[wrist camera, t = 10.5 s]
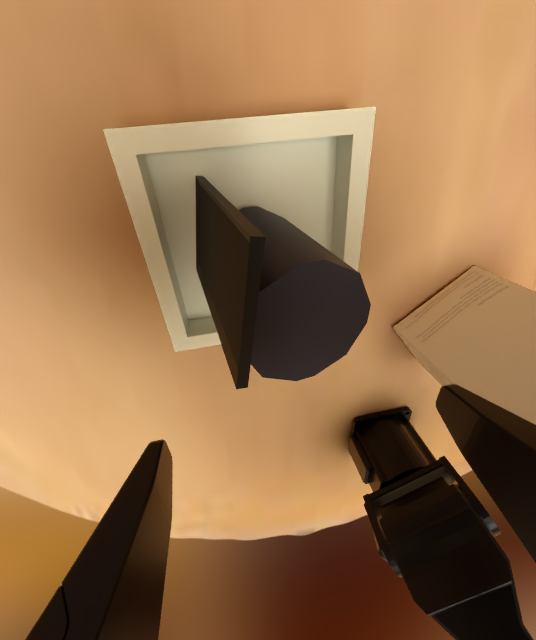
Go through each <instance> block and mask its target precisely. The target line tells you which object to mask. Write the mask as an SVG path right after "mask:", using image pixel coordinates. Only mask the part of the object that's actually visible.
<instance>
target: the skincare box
mask: <svg viewBox="0 0 536 640" xmlns="http://www.w3.org/2000/svg"><path fill="white" fill-rule="evenodd" d="M393 328H394V330H395V332H396V333H397V334H398V336H399V337H400V338H401V340H402V341H403V342H404V344H405V345H406V346H407V347H408V349H409V350H410V351H411V353H412V354H413V355H414V357H415V358H416V359H417V360H418V362H419V363H420V364H421V365H422V366H423V367H424V368H425V369H426V370H427V371H428V372H429V373H430V374H431V375H432V376H433V377H434V378H435V379H436V380H437V381H438V382H439V383H440V384H441V385H442V386H444V385H449V384H457V385H459V386H461V387H463V388H465V389H467V390H469V391H471V392H473V393H475V394H477V395H479V396H481V397H483V398H484V399H486V400H488V401H490V402H492V403H494V404H496V405H498V406H500V407H502V408H504V409H506V410H508V411H510V412H512V413H514V414H516V415H518V416H520V417H522V418H524V419H526V420H527V421H529V422H531V423H533V424H535V425H536V292H534V291H532V290H530V289H527V288H525V287H523V286H521V285H518V284H516V283H514V282H511V281H509V280H507V279H505V278H502V277H500V276H498V275H495V274H493V273H491V272H489V271H486V270H484V269H482V268H480V267H477V266H473V267H472V268H470V269H469V270H468V271H466V272H465V273H464V274H462V275H461V276H460V277H459V278H457V279H456V280H455V281H453V282H452V283H451V284H449V285H448V286H447V287H445V288H444V289H443V290H441V291H440V292H439V293H437V294H436V295H435V296H434V297H432V298H431V299H430V300H428V301H427V302H426V303H424V304H423V305H422V306H420V307H419V308H418V309H416V310H415V311H414V312H412V313H411V314H410V315H409V316H407V317H406V318H405V319H403V320H402V321H401V322H399V323H398V324H396V325H395V326H394V327H393Z"/></svg>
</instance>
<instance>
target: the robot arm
mask: <svg viewBox="0 0 536 640" xmlns="http://www.w3.org/2000/svg"><path fill="white" fill-rule="evenodd" d="M436 407H437V410H438V412H439V414H440V415H441V417H442V419H443V421H444V423H445V425H446V426H447V428H448V430H449V432H450V434H451V435H452V437H453V439H454V441H455V443H456V445H457V446H458V448H459V450H460V451H461V453H462V455H463V456H464V458H465V459H466V461H467V462H468V464H469V465H470V467H471V468H472V470H473V471H474V473H475V474H476V475H477V477H478V478H479V480H480V481H481V483H482V484H483V486H484V487H485V489H486V490H487V492H488V493H489V495H490V496H491V498H492V499H493V501H494V502H495V503H496V505H497V506H498V508H499V509H500V511H501V512H502V514H503V515H504V517H505V518H506V520H507V521H508V523H509V524H510V526H511V527H512V528H513V530H514V532H515V533H516V535H517V536H518V537H519V539H520V540H521V542H522V543H523V545H524V546H525V547H526V549H527V551H528V552H529V554H530V555H531V556H532V558H533V560H534V561H535V563H536V425H535V424H533V423H531V422H529V421H527V420H526V419H524V418H522V417H520V416H518V415H516V414H514V413H512V412H510V411H508V410H506V409H504V408H502V407H500V406H498V405H496V404H494V403H492V402H490V401H488V400H486V399H484V398H483V397H481V396H479V395H477V394H475V393H473V392H471V391H469V390H467V389H465V388H463V387H461V386H459V385H457V384H449V385H444V386H442V387H441V389H440V392H439V395H438V397H437V400H436ZM411 413H412V411H411V410H410V408H409V407H405V408H401V409H396V410H391V411H386V412H381V413H377V414H372V415H367V416H362V417H358V418H355V419H354V420H353V426H352V433H351V435H350V440H349V447H348V449H349V453H350V455H351V456H352V458H353V461H354V463H355V465H356V467H357V469H358V472H359V474H360V476H361V478H362V480H363V482H364V483H365V484H368V483H369V484H370V486H371V488H372V490H373V493H371V494H366V495H364V496H363V498H364V501H365V504H364V507H365V509H366V512H367V514H368V516H369V519H370V522H371V525H372V528H373V532H374V537H375V541H376V545H377V549H378V553H379V555H380V557H381V558H382V559H384V560H386V561H387V562H388V563H389V565H390V566H391V568H392V569H393V571H394V572H395V573H396V575H397V576H398V577H403V579H404V580H405V583H406V585H407V587H408V589H409V591H410V593H411V595H412V597H413V599H414V601H415V602H416V603H417V604H418V605H419V607H420V608H422V610H423V611H424V612H425V613H426V614H427V615H429V616H431V617H432V618H433V619H435V620H436V621H437V622H438V623H439V624H440V625H441V626H442V627H443V628H444V629H445V630H446V631H447V632H448V633H449V634H450V635H451V636H452V637H454V639H456V640H534V639H533V638H532V636H531V635H530V633H529V631H528V630H527V628H526V627H525V625H524V623H523V621H522V616H521V612H520V607H519V602H518V597H517V592H516V588H515V583H514V578H513V574H512V569H511V565H510V561H509V559H508V557H507V556H506V554H505V553H504V551H503V550H502V549H501V547H500V546H499V544H498V543H497V542H496V540H495V539H494V536H496V535H499V534H501V532H500V531H499V529H498V527H497V526H496V525H495V523H494V521H493V520H492V518H491V517H490V515H489V514H488V512H487V511H486V510H485V508H484V507H483V505H482V504H481V503H480V501H479V500H478V499H477V497H476V496H475V495H474V493H473V492H472V491H471V490H470V488H469V487H468V486H467V484H466V483H465V482H464V481H463V479H462V478H461V477H460V475H459V474H458V473H457V472H456V470H455V469H454V468H453V466H452V465H451V464H450V463H449V461H448V460H447V459H446V457H445V456H443V457H441V458H439V460H436V459H435V457H434V456H433V454H432V453H431V452H430V450H429V449H428V447H427V446H426V445H425V443H424V442H423V440H422V439H421V437H420V436H419V435H418V433H417V432H416V430H415V429H414V427H413V426H412V425H411V423H410V422H409V419H410V416H411ZM453 482H454V484H455V485H454V484H452V485H450V486H449V484H451V483H453ZM171 521H172V456H171V453H170V451H169V448H168V446H167V443H166V441H165V440H157V441H152V442H150V443H149V444H148V446H147V447H146V449H145V451H144V452H143V454H142V455H141V457H140V459H139V460H138V462H137V463H136V465H135V467H134V468H133V470H132V471H131V473H130V475H129V476H128V478H127V479H126V481H125V482H124V484H123V486H122V487H121V489H120V490H119V492H118V494H117V495H116V497H115V498H114V500H113V502H112V503H111V505H110V506H109V508H108V510H107V511H106V513H105V514H104V516H103V518H102V519H101V521H100V522H99V524H98V526H97V527H96V529H95V530H94V532H93V534H92V535H91V537H90V538H89V540H88V542H87V543H86V545H85V546H84V548H83V550H82V551H81V553H80V554H79V556H78V557H77V559H76V561H75V562H74V564H73V565H72V567H71V569H70V570H69V572H68V574H67V575H66V577H65V578H64V580H63V581H62V586H59V588H58V589H57V591H56V592H55V594H54V596H53V597H52V599H51V600H50V602H49V603H48V605H47V607H46V608H45V610H44V611H43V613H42V614H41V616H40V618H39V619H38V621H37V622H36V624H35V625H34V627H33V628H32V630H31V631H30V633H29V635H28V636H27V638H26V639H25V640H158V636H159V627H160V619H161V609H162V601H163V592H164V583H165V575H166V566H167V557H168V548H169V539H170V531H171Z"/></svg>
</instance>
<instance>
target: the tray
mask: <svg viewBox="0 0 536 640" xmlns="http://www.w3.org/2000/svg"><path fill="white" fill-rule="evenodd" d="M375 112H376V107H364V108H352V109H340V110H328V111H316V112H304V113H292V114H280V115H268V116H256V117H244V118H232V119H220V120H208V121H196V122H184V123H172V124H160V125H148V126H136V127H124V128H112V129H103V132H104V135H105V138H106V141H107V144H108V147H109V150H110V153H111V156H112V159H113V162H114V166H115V169H116V172H117V175H118V178H119V181H120V184H121V187H122V190H123V193H124V196H125V199H126V203H127V206H128V209H129V212H130V215H131V218H132V221H133V224H134V227H135V230H136V233H137V236H138V240H139V243H140V246H141V249H142V252H143V255H144V258H145V261H146V264H147V267H148V270H149V273H150V277H151V280H152V283H153V286H154V289H155V292H156V295H157V298H158V301H159V304H160V307H161V310H162V314H163V317H164V320H165V323H166V326H167V329H168V332H169V335H170V338H171V341H172V344H173V348H174V351H175V352H180V351H185V350H191V349H197V348H203V347H209V346H215V345H221V342H220V339H219V336H218V333H217V330H216V327H215V324H214V321H213V318H212V315H211V312H210V309H209V306H208V303H207V300H206V297H205V294H204V291H203V288H202V285H201V282H200V279H199V277H198V274H197V271H196V176H204V177H205V178H206V179H207V180H208V181H209V182H210V183H211V184H212V185H213V186H214V187H215V188H216V189H217V190H218V191H219V192H220V193H221V194H222V195H223V196H224V197H225V198H226V199H227V200H228V201H229V202H230V203H231V204H232V205H234V206H235V207H236V208H237V209H238V210H240V209H241V208H246V207H255V206H258V207H261V208H263V209H265V210H267V211H270V212H272V213H274V214H277V215H279V216H281V217H283V218H285V219H286V220H288V221H289V222H290V223H292V224H293V225H294V226H296V227H297V228H299V229H300V230H301V231H303V232H304V233H305V234H307V235H308V236H310V237H311V238H312V239H314V240H315V241H316V242H318V243H319V244H321V245H322V246H323V247H325V248H326V249H327V250H329V251H330V252H331V253H333V254H334V255H336V256H337V257H338V258H340V259H341V260H342V261H344V262H345V263H347V264H348V265H349V266H351V267H352V268H353V269H355V270H356V271H358V268H359V258H360V249H361V240H362V231H363V222H364V213H365V203H366V194H367V185H368V176H369V167H370V158H371V148H372V139H373V130H374V121H375Z"/></svg>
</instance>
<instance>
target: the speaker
mask: <svg viewBox="0 0 536 640" xmlns="http://www.w3.org/2000/svg"><path fill="white" fill-rule="evenodd" d="M196 271H197V274H198V277H199V279H200V282H201V285H202V288H203V291H204V294H205V297H206V300H207V303H208V306H209V309H210V312H211V315H212V318H213V321H214V324H215V327H216V330H217V333H218V336H219V339H220V342H221V345H222V348H223V351H224V354H225V357H226V360H227V363H228V365H229V368H230V371H231V374H232V377H233V380H234V383H235V386H236V389H241V388H247V387H248V381H249V372H250V364H251V365H252V366H253V367H254V368H255V369H256V370H257V371H258V373H259V374H260V375H261V376H262V377H265V378H274V379H283V380H292V381H298V380H301V379H305V378H308V377H312V376H315V375H316V374H318V373H319V372H321V371H322V370H324V369H325V368H327V367H328V366H330V365H331V364H333V363H334V362H336V361H337V360H339V359H340V358H342V357H343V356H345V355H346V354H347V352H348V351H349V349H350V348H351V346H352V345H353V343H354V342H355V340H356V339H357V337H358V335H359V334H360V332H361V331H362V329H363V328H364V326H365V325H366V323H367V320H368V315H369V310H370V305H371V304H370V301H369V298H368V296H367V293H366V290H365V287H364V284H363V281H362V278H361V275H360V273H359V272H358V271H356V270H355V269H353V268H352V267H351V266H349V265H348V264H347V263H345V262H344V261H342V260H341V259H340V258H338V257H337V256H336V255H334V254H333V253H331V252H330V251H329V250H327V249H326V248H325V247H323V246H322V245H321V244H319V243H318V242H316V241H315V240H314V239H312V238H311V237H310V236H308V235H307V234H305V233H304V232H303V231H301V230H300V229H299V228H297V227H296V226H294V225H293V224H292V223H290V222H289V221H288V220H286V219H285V218H283V217H281V216H279V215H277V214H274V213H272V212H270V211H267V210H265V209H263V208H261V207H258V206H255V207H246V208H241V209H240V210H238V209H237V208H236V207H235V206H234V205H232V204H231V203H230V202H229V201H228V200H227V199H226V198H225V197H224V196H223V195H222V194H221V193H220V192H219V191H218V190H217V189H216V188H215V187H214V186H213V185H212V184H211V183H210V182H209V181H208V180H207V179H206V178H205V177H204V176H196Z"/></svg>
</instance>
